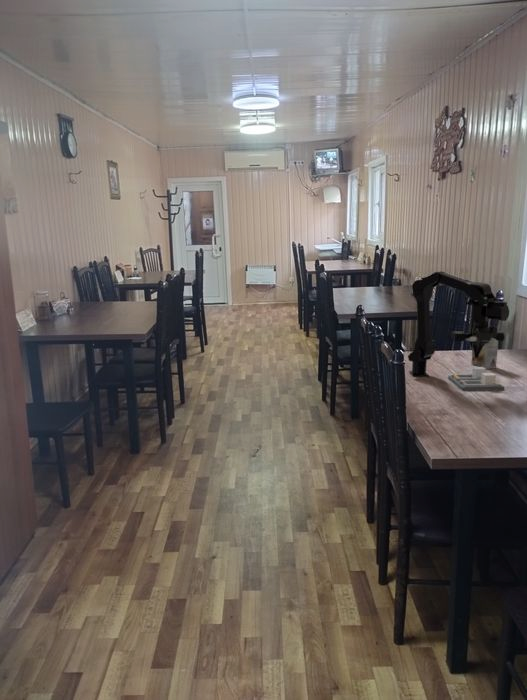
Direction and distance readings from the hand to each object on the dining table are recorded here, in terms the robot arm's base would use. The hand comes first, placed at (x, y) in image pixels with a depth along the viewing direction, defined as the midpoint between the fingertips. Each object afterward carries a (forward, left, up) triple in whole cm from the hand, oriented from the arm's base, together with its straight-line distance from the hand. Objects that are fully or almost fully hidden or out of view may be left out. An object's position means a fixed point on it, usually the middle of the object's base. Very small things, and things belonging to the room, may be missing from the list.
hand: (475, 358), depth 214 cm
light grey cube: (-9, +5, -10) cm, 15 cm away
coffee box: (-32, +16, -12) cm, 38 cm away
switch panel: (-5, +2, -12) cm, 13 cm away
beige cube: (0, +5, -10) cm, 12 cm away
